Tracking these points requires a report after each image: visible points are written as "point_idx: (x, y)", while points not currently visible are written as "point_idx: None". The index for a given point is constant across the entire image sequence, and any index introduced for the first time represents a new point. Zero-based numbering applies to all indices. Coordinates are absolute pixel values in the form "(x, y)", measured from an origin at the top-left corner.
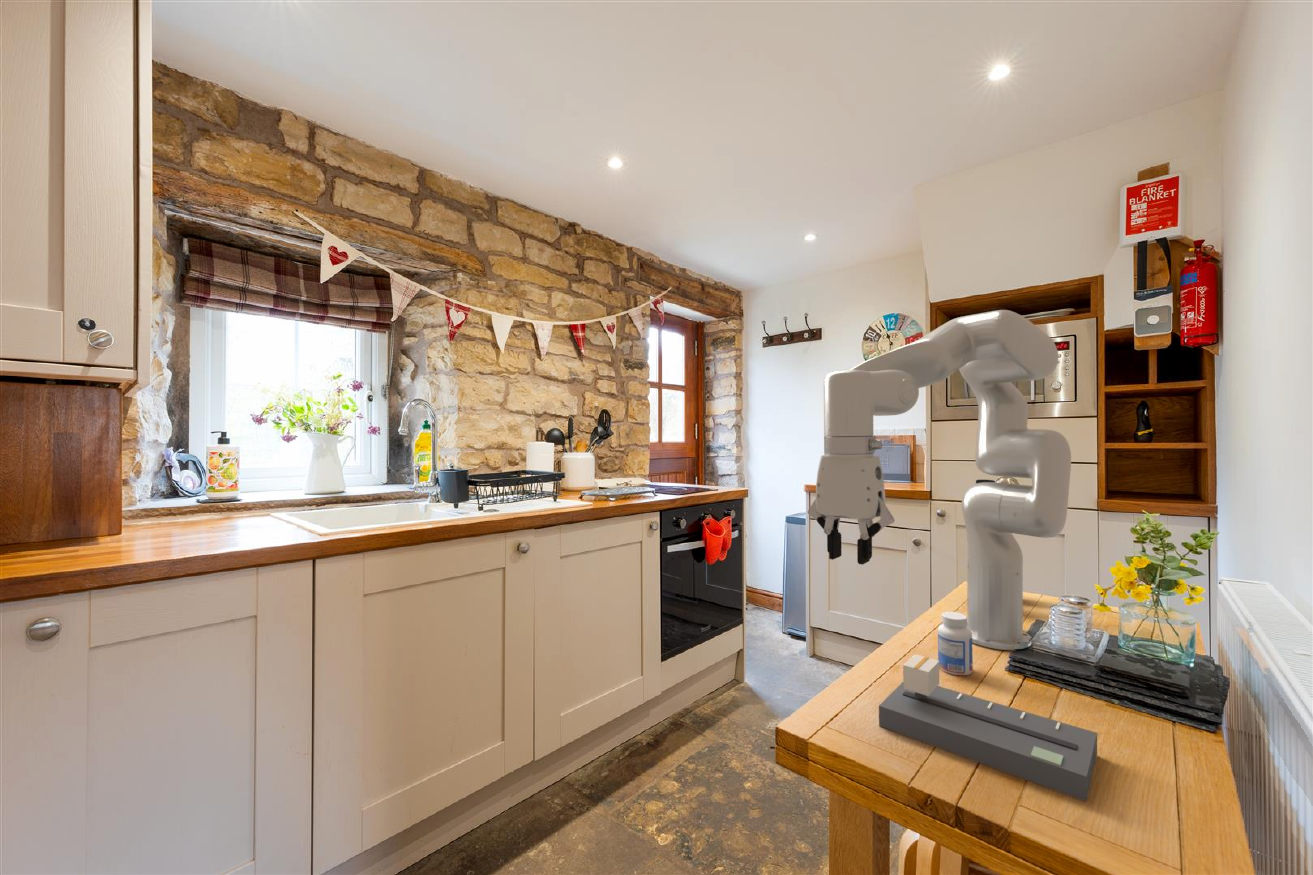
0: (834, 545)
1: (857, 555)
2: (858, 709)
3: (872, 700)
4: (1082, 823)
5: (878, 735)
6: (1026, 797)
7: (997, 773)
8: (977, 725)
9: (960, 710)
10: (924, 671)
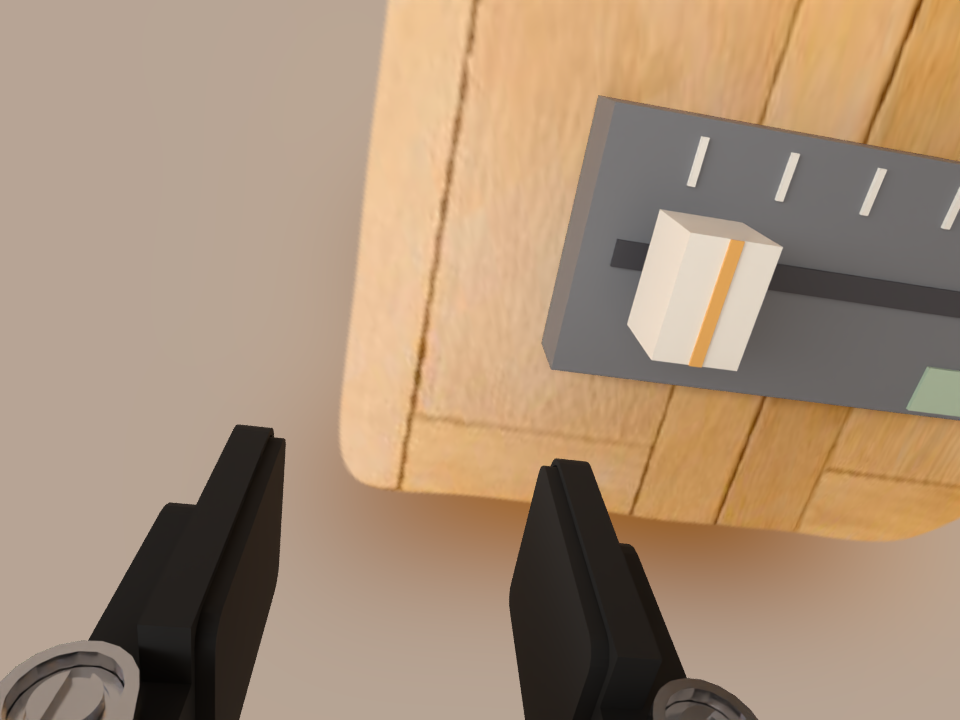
0: (246, 671)
1: (516, 653)
2: (469, 285)
3: (495, 204)
4: (922, 463)
5: (547, 386)
6: (845, 441)
7: None
8: (811, 331)
9: (778, 279)
10: (722, 367)
